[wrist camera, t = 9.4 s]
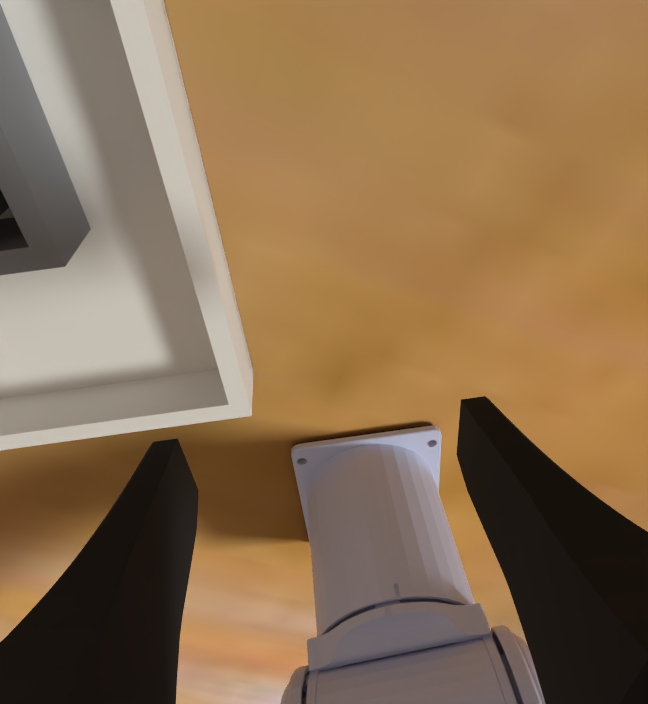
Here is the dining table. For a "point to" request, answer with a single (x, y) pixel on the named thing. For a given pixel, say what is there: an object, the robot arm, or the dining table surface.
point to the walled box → (107, 233)
